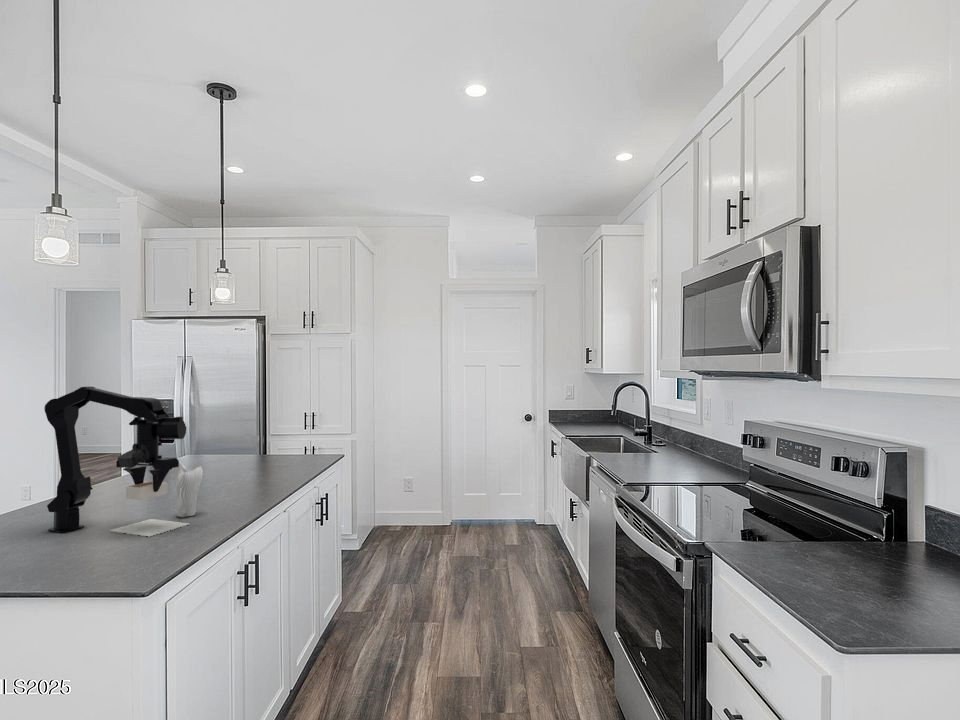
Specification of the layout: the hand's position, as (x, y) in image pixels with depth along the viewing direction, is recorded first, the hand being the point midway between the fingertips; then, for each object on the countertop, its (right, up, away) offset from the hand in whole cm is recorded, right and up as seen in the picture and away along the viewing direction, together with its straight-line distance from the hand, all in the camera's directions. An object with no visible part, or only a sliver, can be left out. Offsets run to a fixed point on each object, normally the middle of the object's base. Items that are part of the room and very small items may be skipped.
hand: (147, 491), depth 169 cm
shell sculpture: (+4, -12, +15) cm, 20 cm away
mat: (0, -11, +1) cm, 11 cm away
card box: (0, -2, 0) cm, 2 cm away
